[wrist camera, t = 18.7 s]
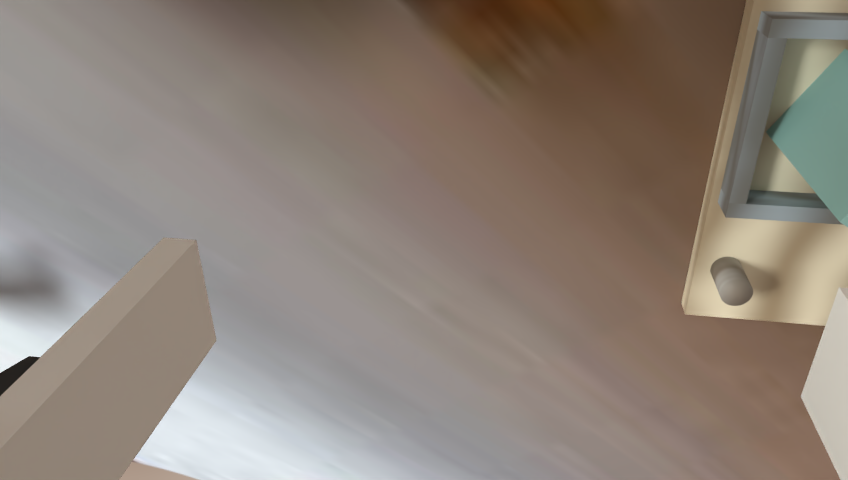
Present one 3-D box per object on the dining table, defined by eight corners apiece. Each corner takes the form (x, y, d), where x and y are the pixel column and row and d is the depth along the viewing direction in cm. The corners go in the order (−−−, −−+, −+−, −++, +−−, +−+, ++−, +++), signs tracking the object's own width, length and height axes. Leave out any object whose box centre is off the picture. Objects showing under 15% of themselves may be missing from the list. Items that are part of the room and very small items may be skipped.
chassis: (681, 302, 49) (692, 339, 46) (749, -12, 39) (771, 1, 35) (871, 317, 48) (900, 357, 44) (998, -9, 37) (1051, 6, 33)
